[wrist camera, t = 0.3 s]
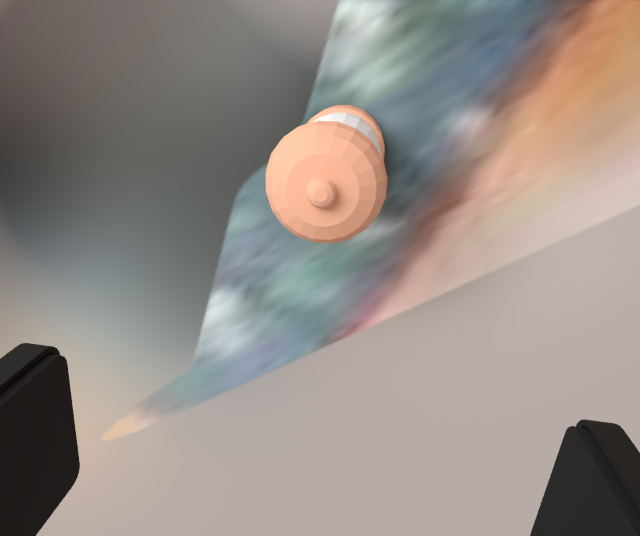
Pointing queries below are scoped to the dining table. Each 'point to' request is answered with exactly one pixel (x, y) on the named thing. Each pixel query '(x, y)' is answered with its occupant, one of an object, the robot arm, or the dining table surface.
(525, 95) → the dining table surface
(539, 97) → the dining table surface
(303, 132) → the pepper shaker
